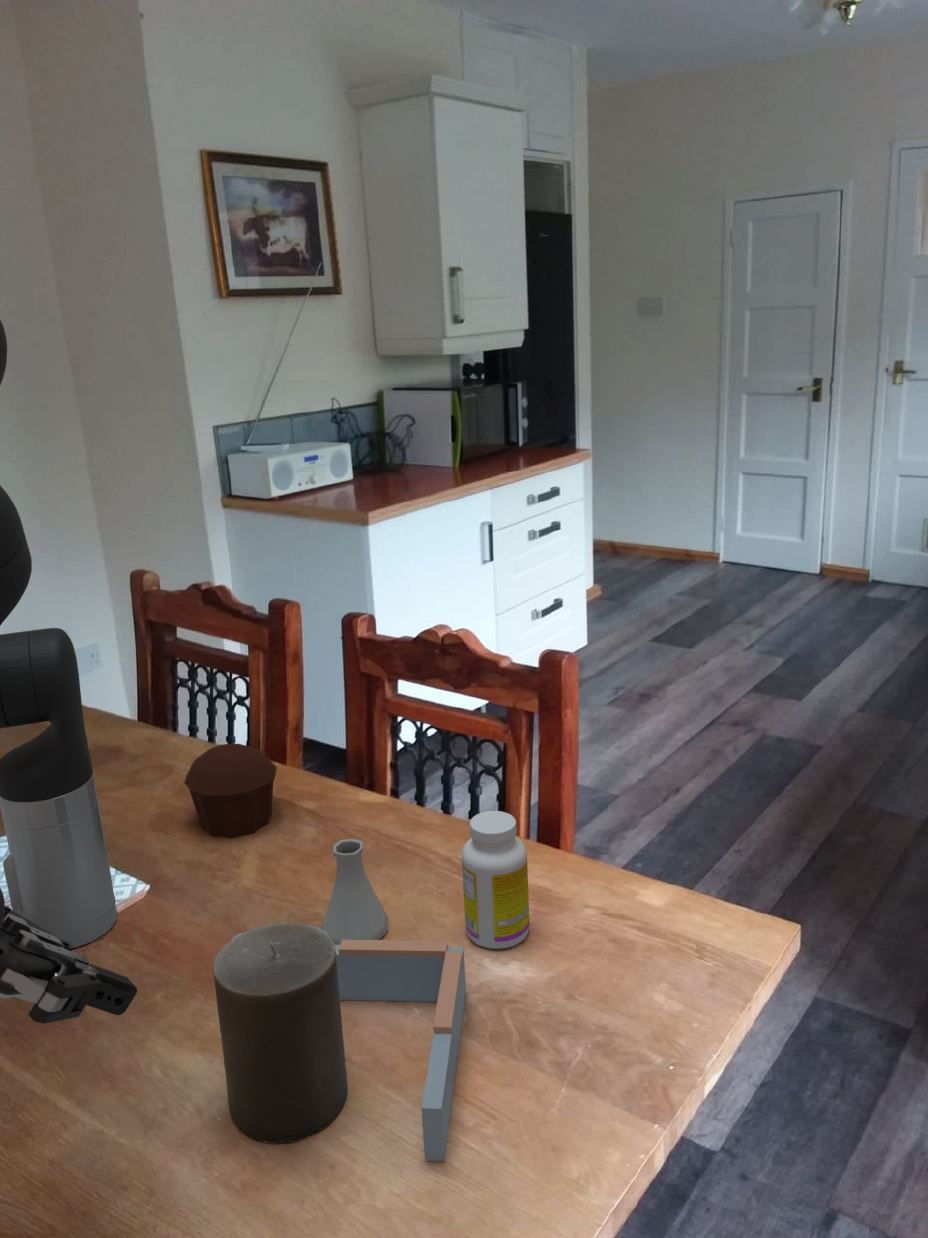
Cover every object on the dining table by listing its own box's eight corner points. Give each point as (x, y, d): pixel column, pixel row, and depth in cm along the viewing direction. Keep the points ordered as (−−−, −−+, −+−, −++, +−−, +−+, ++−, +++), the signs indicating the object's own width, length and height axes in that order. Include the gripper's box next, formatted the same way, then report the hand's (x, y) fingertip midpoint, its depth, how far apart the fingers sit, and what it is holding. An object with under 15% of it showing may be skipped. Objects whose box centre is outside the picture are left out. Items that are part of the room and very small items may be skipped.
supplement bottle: (539, 921, 103) (536, 812, 100) (515, 958, 98) (511, 844, 94) (481, 908, 106) (476, 801, 102) (454, 943, 101) (448, 831, 97)
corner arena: (195, 1152, 76) (186, 1094, 75) (265, 988, 95) (259, 938, 93) (444, 1162, 75) (440, 1102, 73) (465, 992, 93) (463, 941, 92)
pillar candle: (294, 1163, 75) (278, 997, 71) (204, 1114, 80) (183, 956, 76) (371, 1081, 83) (361, 928, 79) (284, 1041, 88) (270, 894, 84)
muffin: (300, 813, 128) (292, 742, 125) (239, 852, 120) (229, 777, 117) (234, 793, 135) (226, 726, 132) (172, 829, 126) (161, 757, 123)
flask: (378, 955, 99) (371, 868, 96) (310, 948, 101) (302, 862, 98) (397, 913, 106) (391, 830, 103) (333, 907, 108) (326, 826, 105)
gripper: (-33, 904, 55) (198, 992, 66) (-88, 824, 65) (121, 912, 76) (-119, 1029, 53) (133, 1098, 64) (-162, 927, 63) (63, 1002, 74)
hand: (126, 997), depth 70 cm, fingers closed
